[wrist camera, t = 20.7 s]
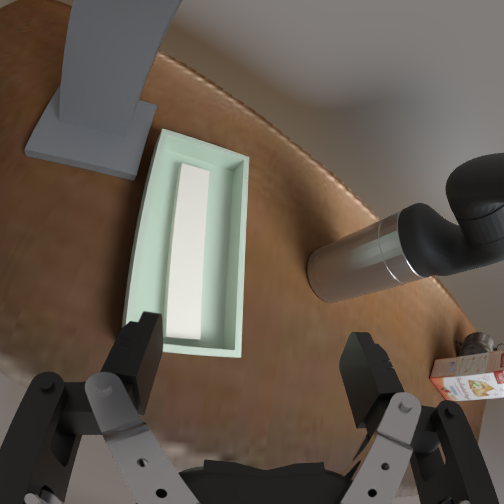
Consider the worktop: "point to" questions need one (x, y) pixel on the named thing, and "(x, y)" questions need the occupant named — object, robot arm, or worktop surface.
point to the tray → (215, 246)
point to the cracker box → (470, 376)
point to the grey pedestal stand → (104, 87)
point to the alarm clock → (477, 344)
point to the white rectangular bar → (186, 255)
